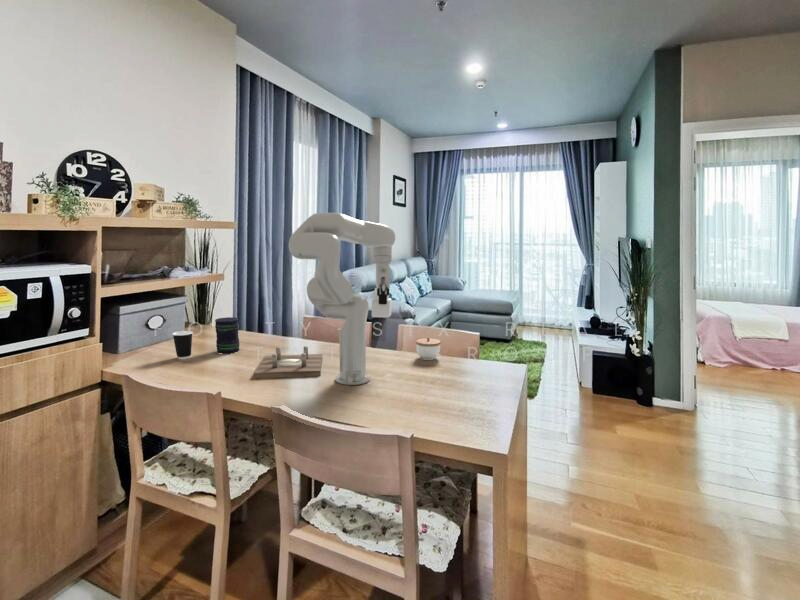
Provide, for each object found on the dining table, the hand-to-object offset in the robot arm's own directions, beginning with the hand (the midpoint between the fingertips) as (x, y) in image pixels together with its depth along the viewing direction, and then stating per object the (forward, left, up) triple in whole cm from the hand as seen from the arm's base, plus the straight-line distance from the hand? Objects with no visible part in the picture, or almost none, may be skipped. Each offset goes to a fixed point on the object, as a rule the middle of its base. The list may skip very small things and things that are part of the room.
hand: (381, 302), depth 172 cm
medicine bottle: (0, 0, -6) cm, 6 cm away
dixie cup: (+18, +84, -26) cm, 89 cm away
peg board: (-2, +37, -26) cm, 45 cm away
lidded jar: (+6, -21, -26) cm, 34 cm away
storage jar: (+27, +68, -26) cm, 77 cm away
